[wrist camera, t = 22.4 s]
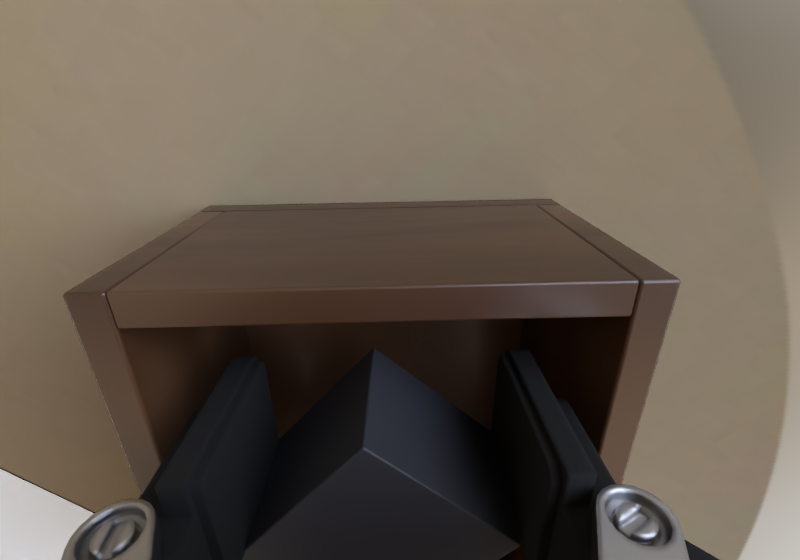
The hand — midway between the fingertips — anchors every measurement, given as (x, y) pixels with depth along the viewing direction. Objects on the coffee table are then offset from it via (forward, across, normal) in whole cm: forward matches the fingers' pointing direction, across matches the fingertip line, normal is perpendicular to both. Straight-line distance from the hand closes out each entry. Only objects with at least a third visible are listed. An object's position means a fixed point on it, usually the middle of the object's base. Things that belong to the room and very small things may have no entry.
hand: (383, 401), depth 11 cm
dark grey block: (0, +1, +2) cm, 2 cm away
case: (+5, 0, +4) cm, 6 cm away
